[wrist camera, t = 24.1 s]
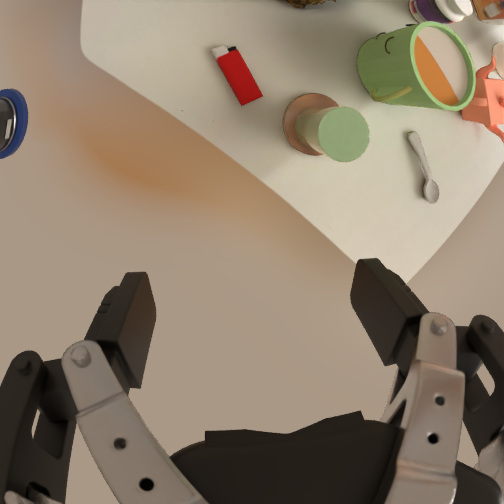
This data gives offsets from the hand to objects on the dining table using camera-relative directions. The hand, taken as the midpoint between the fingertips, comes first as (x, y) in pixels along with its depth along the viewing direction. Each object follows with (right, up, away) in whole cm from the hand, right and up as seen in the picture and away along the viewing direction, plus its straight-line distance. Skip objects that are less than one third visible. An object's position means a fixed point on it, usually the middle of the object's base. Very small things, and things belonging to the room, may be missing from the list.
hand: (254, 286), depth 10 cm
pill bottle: (+25, +37, +13) cm, 46 cm away
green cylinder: (+8, +16, +21) cm, 28 cm away
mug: (+17, +25, +18) cm, 35 cm away
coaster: (+8, +17, +21) cm, 28 cm away
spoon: (+25, +14, +25) cm, 38 cm away
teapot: (+36, +27, +19) cm, 49 cm away
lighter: (-2, +22, +18) cm, 29 cm away
